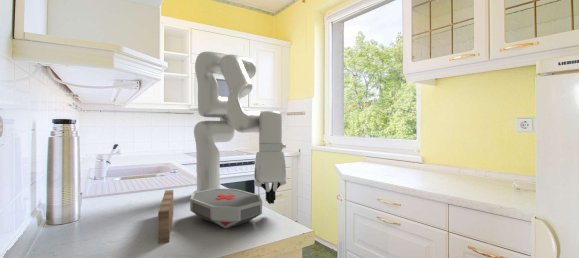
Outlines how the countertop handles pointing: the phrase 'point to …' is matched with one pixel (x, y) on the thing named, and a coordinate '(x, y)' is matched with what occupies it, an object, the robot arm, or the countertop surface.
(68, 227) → the countertop surface
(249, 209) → the first aid kit
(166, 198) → the walnut board
